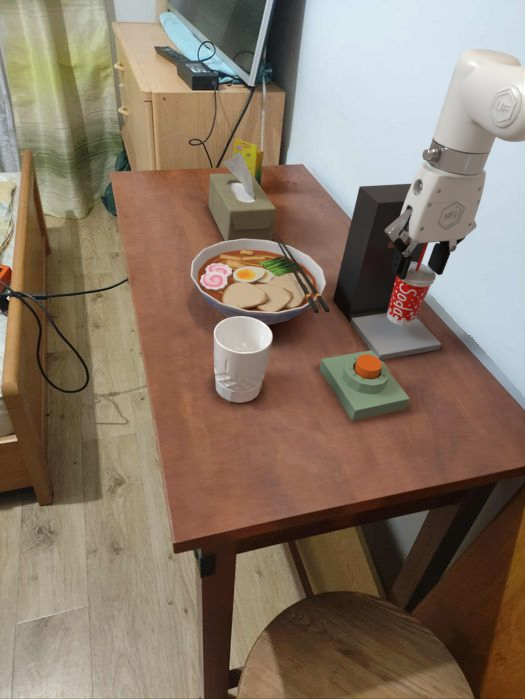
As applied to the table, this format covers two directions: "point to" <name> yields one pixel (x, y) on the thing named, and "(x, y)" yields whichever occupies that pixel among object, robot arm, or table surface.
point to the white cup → (240, 357)
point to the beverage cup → (410, 292)
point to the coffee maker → (377, 276)
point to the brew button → (368, 366)
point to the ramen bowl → (258, 279)
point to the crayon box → (250, 157)
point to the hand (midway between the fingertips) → (416, 271)
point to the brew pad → (362, 387)
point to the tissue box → (240, 203)
